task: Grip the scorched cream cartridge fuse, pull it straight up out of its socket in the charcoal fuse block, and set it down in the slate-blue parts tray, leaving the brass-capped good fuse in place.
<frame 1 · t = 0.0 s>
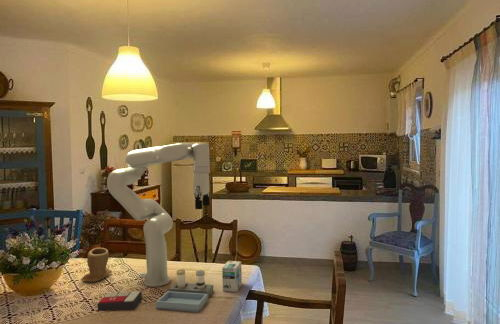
hand: (202, 207, 180), 37 cm above the table, tool pointing down, fingers open, 9 cm apart
parts tray: (182, 304, 162), on the table
stone cup: (99, 278, 196), on the table
blown fuse: (200, 294, 172), resting in fuse block
calculator: (120, 305, 163), on the table
fuse block: (191, 293, 173), on the table
good fuse: (181, 292, 174), resting in fuse block
light bulb box: (232, 287, 180), on the table
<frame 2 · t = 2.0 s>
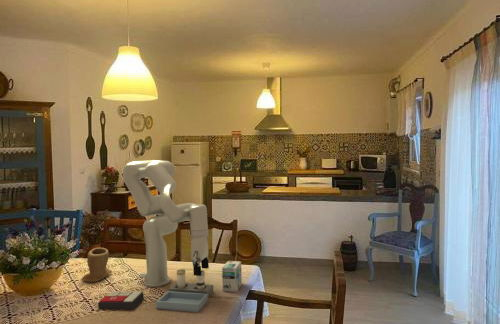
hand: (201, 271, 171), 10 cm above the table, tool pointing down, fingers open, 9 cm apart
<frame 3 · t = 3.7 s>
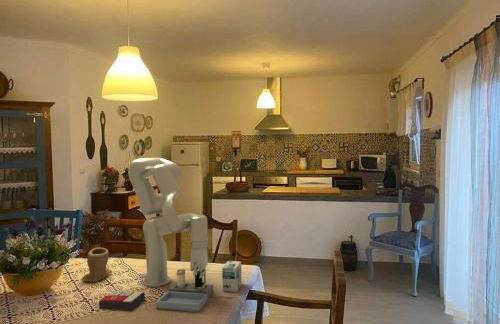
hand: (200, 284, 172), 4 cm above the table, tool pointing down, fingers closed on blown fuse, 3 cm apart
blown fuse: (200, 294, 172), resting in fuse block, touching gripper
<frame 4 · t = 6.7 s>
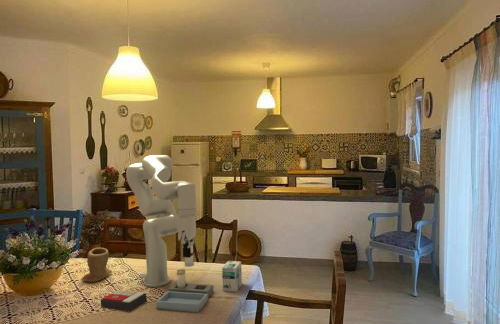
hand: (188, 255, 164), 19 cm above the table, tool pointing down, fingers closed on blown fuse, 3 cm apart
blown fuse: (189, 265, 165), point 15 cm above the table, touching gripper
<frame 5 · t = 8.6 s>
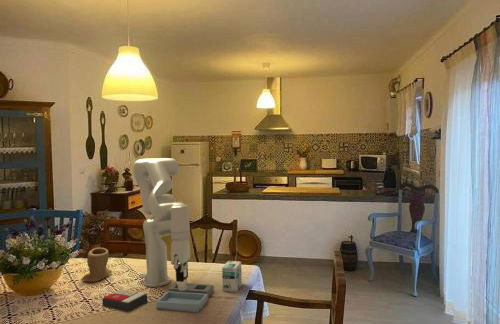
hand: (182, 278, 161), 11 cm above the table, tool pointing down, fingers closed on blown fuse, 3 cm apart
blown fuse: (182, 289, 161), point 7 cm above the table, touching gripper
when the fingers open (7 cm above the table, at t = 10.1 s): blown fuse drops 1 cm, resting on parts tray.
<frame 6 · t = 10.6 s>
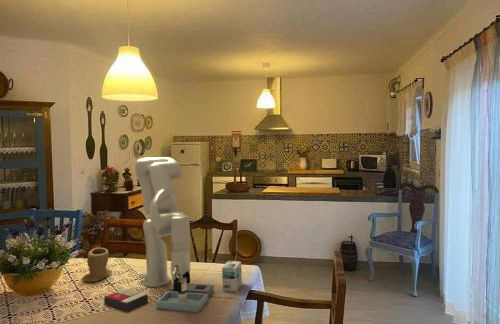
hand: (182, 287, 161), 7 cm above the table, tool pointing down, fingers open, 8 cm apart
blown fuse: (182, 302, 161), point 1 cm above the table, touching parts tray
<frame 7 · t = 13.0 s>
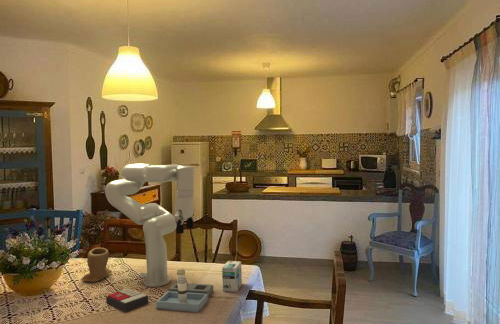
hand: (185, 230, 178), 27 cm above the table, tool pointing down, fingers open, 9 cm apart
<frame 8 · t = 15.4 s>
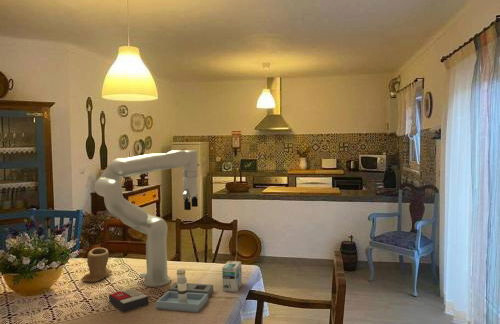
hand: (191, 208, 199), 33 cm above the table, tool pointing down, fingers open, 9 cm apart
at the end: blown fuse inside the target area on the parts tray (0.0 cm from its centre), point 0.8 cm above the parts tray's base; the gripper is holding nothing; good fuse moved 0.0 cm from its start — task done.
